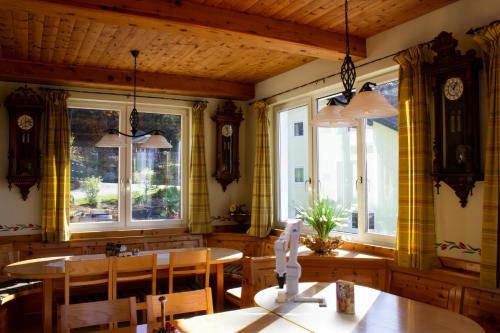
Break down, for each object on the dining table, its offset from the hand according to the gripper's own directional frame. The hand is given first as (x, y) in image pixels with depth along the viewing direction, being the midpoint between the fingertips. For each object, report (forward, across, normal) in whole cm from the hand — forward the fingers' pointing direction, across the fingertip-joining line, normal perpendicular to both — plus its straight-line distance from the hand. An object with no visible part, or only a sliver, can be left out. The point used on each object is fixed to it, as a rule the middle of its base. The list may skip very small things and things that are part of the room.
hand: (281, 287), depth 235 cm
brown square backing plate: (+8, 0, 0) cm, 9 cm away
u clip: (+8, 0, 0) cm, 8 cm away
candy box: (+9, +14, +33) cm, 37 cm away
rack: (+8, 0, +15) cm, 17 cm away
